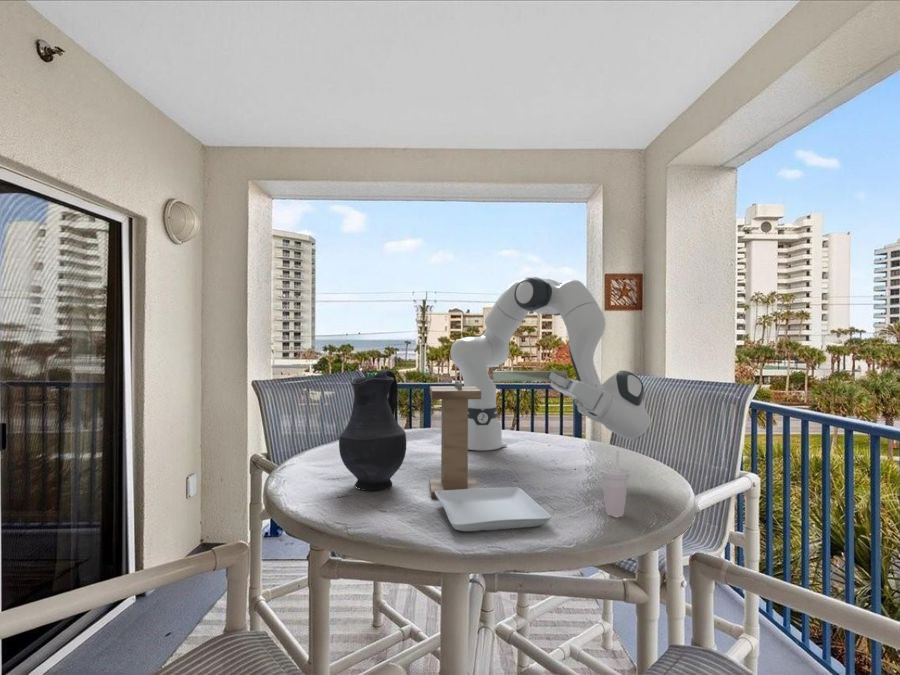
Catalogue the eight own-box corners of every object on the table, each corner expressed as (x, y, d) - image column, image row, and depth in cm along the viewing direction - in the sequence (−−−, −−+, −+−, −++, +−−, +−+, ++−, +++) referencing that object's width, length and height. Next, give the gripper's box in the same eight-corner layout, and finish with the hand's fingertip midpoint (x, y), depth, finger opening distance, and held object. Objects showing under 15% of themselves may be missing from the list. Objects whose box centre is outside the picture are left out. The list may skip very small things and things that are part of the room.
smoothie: (632, 520, 110) (632, 455, 110) (601, 518, 112) (601, 453, 112) (627, 510, 117) (628, 448, 117) (598, 508, 118) (598, 447, 118)
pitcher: (326, 491, 130) (326, 372, 129) (367, 471, 149) (367, 367, 149) (387, 499, 124) (388, 374, 123) (422, 477, 143) (422, 369, 143)
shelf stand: (429, 483, 137) (429, 380, 136) (474, 483, 138) (474, 380, 137) (431, 498, 125) (432, 385, 124) (480, 497, 126) (481, 384, 125)
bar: (492, 380, 133) (492, 371, 133) (564, 380, 135) (564, 370, 135) (494, 381, 131) (494, 371, 131) (566, 380, 132) (567, 371, 132)
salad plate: (554, 532, 105) (554, 515, 104) (452, 540, 100) (452, 522, 100) (518, 499, 125) (519, 485, 125) (433, 505, 121) (433, 490, 121)
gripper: (584, 386, 145) (542, 361, 143) (613, 394, 124) (565, 366, 123) (573, 405, 144) (531, 381, 143) (601, 417, 124) (552, 388, 123)
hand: (547, 374), depth 133 cm, fingers closed on bar, 2 cm apart
